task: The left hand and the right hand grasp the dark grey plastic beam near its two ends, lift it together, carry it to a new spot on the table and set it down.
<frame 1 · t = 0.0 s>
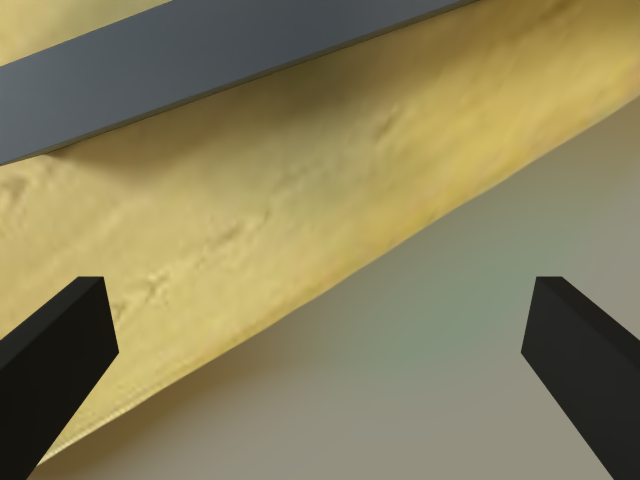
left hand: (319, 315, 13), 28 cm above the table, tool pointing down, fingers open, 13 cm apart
beam: (345, 6, 35), on the table
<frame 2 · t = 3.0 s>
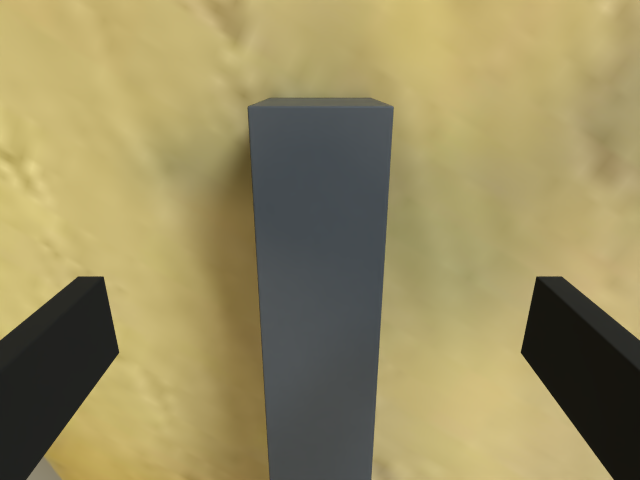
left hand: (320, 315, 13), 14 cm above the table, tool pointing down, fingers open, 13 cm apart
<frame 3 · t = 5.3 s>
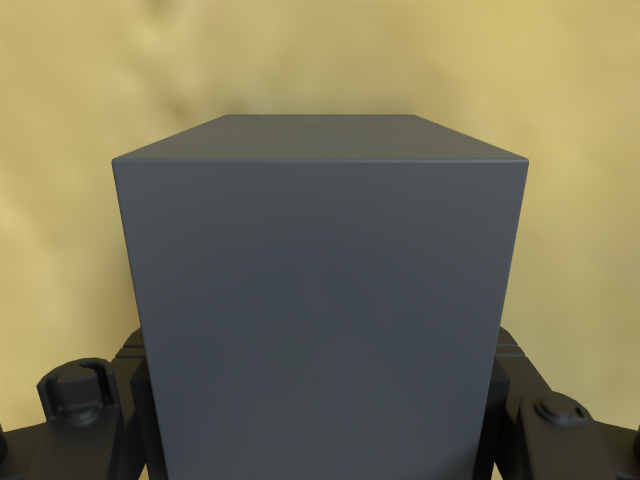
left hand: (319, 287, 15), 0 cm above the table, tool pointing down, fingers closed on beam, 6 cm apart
when the left hand's fingers open (1 cm above the table, at t = 9.1 s): beam stays where it is, on the table.
when the right hand's fingers open (1 cm above the table, at t = 9.1 s): beam stays where it is, on the table.
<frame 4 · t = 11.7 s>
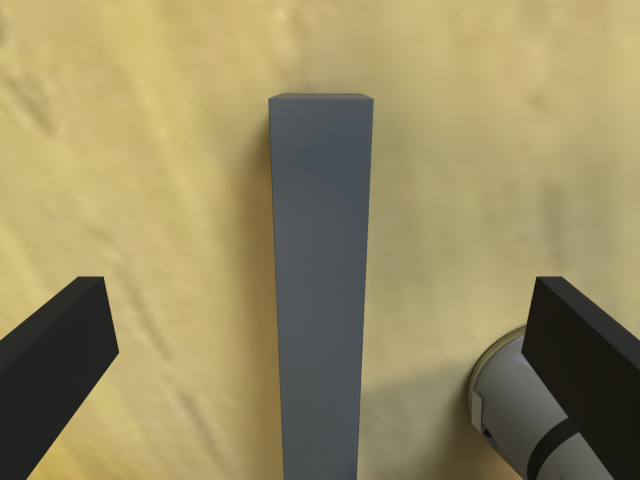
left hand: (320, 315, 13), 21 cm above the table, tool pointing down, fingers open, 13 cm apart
beam: (320, 416, 42), on the table
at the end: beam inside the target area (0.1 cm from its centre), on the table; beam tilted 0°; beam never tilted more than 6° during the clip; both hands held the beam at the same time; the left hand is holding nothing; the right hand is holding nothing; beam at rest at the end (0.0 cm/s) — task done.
